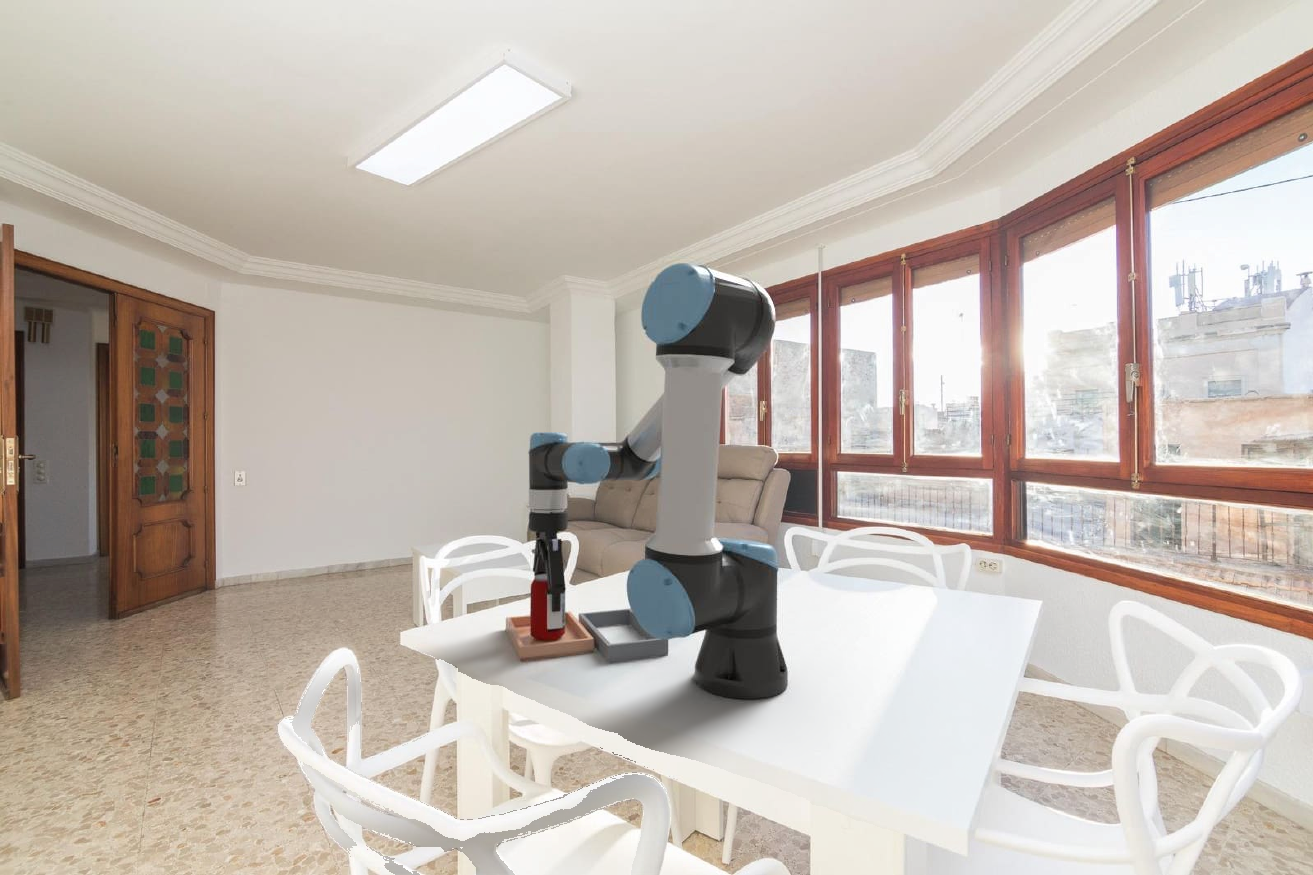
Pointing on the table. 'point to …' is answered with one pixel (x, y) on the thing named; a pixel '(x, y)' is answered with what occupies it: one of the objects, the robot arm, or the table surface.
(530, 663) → the table surface
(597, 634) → the grey bin
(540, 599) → the beverage can
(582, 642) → the terracotta dish
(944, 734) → the table surface
